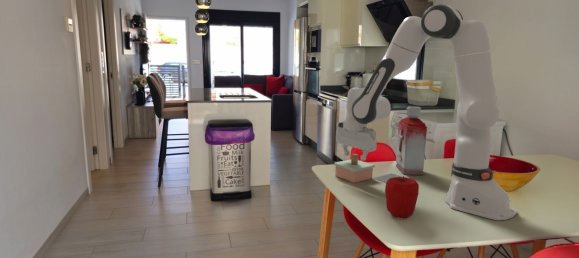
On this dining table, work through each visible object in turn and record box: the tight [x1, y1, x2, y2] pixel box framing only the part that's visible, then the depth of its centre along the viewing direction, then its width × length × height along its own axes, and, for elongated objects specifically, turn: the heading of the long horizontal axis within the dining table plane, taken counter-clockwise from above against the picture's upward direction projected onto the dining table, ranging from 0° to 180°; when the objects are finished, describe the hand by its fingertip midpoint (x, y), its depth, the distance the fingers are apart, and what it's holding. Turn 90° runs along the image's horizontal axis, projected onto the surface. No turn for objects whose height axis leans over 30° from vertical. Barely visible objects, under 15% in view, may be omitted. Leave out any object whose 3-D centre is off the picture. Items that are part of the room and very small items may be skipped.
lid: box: [333, 153, 376, 172], centre depth 160 cm, size 12×12×5 cm
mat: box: [372, 172, 403, 184], centre depth 159 cm, size 13×13×1 cm
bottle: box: [395, 105, 428, 176], centre depth 170 cm, size 14×10×30 cm
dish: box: [334, 166, 374, 184], centre depth 161 cm, size 11×11×6 cm
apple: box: [384, 175, 420, 219], centre depth 122 cm, size 11×10×14 cm
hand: (354, 157), depth 160 cm, fingers open, 8 cm apart
